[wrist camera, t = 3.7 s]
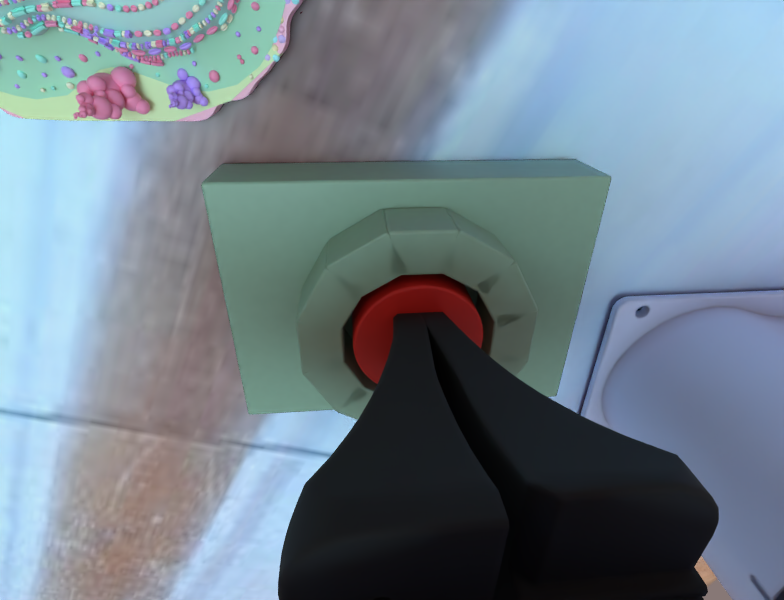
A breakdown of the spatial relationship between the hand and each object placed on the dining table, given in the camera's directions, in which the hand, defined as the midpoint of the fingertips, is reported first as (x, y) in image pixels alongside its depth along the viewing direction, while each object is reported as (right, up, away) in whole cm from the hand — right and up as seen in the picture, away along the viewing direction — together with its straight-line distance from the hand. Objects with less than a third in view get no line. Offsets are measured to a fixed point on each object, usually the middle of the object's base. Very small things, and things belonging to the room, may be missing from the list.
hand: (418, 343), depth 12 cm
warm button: (0, +1, +1) cm, 2 cm away
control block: (0, +2, +4) cm, 4 cm away
